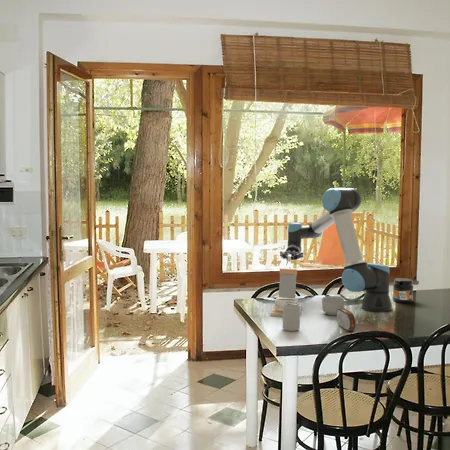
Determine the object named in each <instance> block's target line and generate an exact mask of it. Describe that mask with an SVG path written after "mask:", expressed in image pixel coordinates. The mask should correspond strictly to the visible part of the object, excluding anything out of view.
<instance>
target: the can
mask: <svg viewBox="0 0 450 450" xmlns="http://www.w3.org/2000/svg"><path fill="white" fill-rule="evenodd" d="M284 304H285V305H284V306H283V317H282V329H283V330H284V331H285V332H290V333H291V332H292V333H293V332H298V330H300V326H301V325H300V323H301V322H300V321H301V314H300V306H301V305H299V302H298V303H296V302H286V303H284Z"/></svg>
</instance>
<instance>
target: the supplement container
mask: <svg viewBox="0 0 450 450" xmlns="http://www.w3.org/2000/svg"><path fill="white" fill-rule="evenodd" d="M393 282H394V283H393V285H392V287H393V288H392V300H393V301H394V302H395V301H396V303H399V302H402V303H401V304H409V302H410V303H412V302H413V300H414V299H413V298H414V285H413V282H414V281H413V279H412V278H407V277H404V278H403V277H397V278H396V277H395V278H394V281H393Z"/></svg>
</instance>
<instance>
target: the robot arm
mask: <svg viewBox="0 0 450 450" xmlns="http://www.w3.org/2000/svg"><path fill="white" fill-rule="evenodd" d="M321 203H322V207H323V209H324V210H325V212H324V213H323V214H322V215H321V216H320V217H318V218H317V219H315V220H314V221H312V222H311V223H310V224H308V225H302V222H289V223H288V225H287V249H286V250H285V251H279V256H280V257H281V258H282V259H283V260H286V261H287V262H291V261H295V260H299V259H301V258H304V252H302V240H304V239H316V238H320V237H321V235H322V233H323V232H324V231H326V230H327V229H328V228H329V227H331V226H332V225H334V224H335V228H336V230H337V231H336V232H337V234H338V235H337V236H338V240H339V243H340V246H341V251H342V255H343V259H344V262H345V264H344V266H343V272H342V274H341V282H342V285H343V286H344V288H345V289H346V290H347V291H349V292H352V293H360V292H364V291H365V292H364V295H363V298H362V301H361V305H360V306H361V309H362V310H366V311H369V312H375V313H377V312H378V313H379V312H381V313H382V312H391V311H392V309H393V305H392V304H393V303H392V302H391V301H392V300H391V298H390V274H391V273H390V266H388V265H386V264H380V263H371V262H367V261H365V260H364V259H363V255H362V252H361V249H360V244H359V241H358V238H357V234H356V230H355V226H354V223H353V218H352V213H354V212H355V211H356V210H358V209H359V207H360V206H361V204H362V196H361V194H360V192H359V191H358V190H357V189H355V188H352V187H334V188H333V187H331V188H329V189H327V190H326V191H325V192H324V193H323V196H322V199H321Z"/></svg>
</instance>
